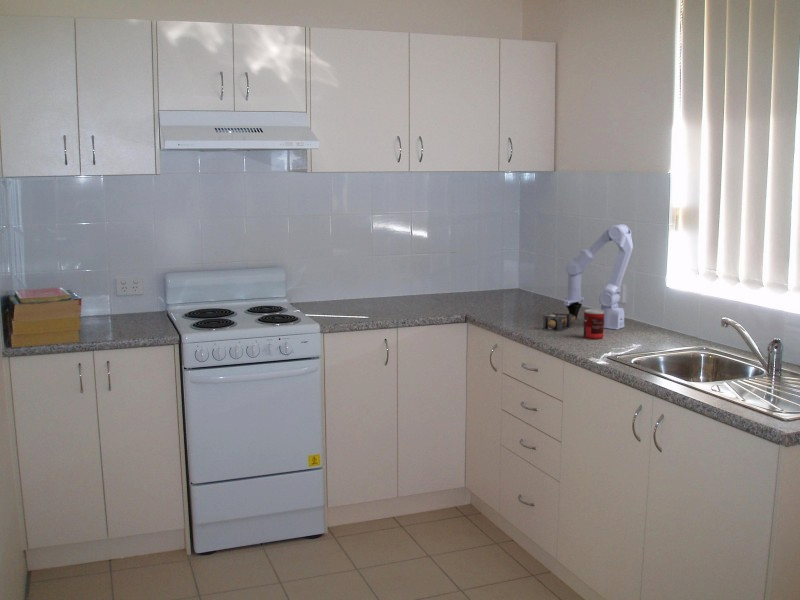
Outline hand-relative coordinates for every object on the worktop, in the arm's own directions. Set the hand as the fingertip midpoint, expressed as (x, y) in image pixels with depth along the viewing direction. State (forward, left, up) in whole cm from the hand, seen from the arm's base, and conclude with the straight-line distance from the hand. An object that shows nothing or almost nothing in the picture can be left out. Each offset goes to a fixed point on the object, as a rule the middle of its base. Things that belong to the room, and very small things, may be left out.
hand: (573, 319), depth 363 cm
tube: (0, +11, -2) cm, 11 cm away
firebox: (0, +14, -2) cm, 14 cm away
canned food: (-21, +22, -2) cm, 31 cm away
